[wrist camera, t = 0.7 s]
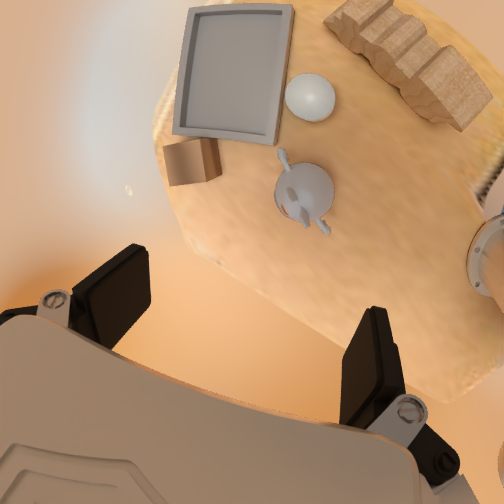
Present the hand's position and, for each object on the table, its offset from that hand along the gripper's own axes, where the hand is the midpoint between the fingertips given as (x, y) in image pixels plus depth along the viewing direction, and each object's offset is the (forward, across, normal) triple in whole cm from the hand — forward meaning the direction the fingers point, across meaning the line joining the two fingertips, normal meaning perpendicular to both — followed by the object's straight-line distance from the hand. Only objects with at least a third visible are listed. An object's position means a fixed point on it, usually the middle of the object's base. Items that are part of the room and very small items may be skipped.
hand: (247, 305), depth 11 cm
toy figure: (+25, -1, 0) cm, 25 cm away
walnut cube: (+25, +13, -1) cm, 29 cm away
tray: (+25, +10, -13) cm, 30 cm away
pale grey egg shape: (+25, 0, -10) cm, 27 cm away
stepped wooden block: (+25, -8, -18) cm, 32 cm away
